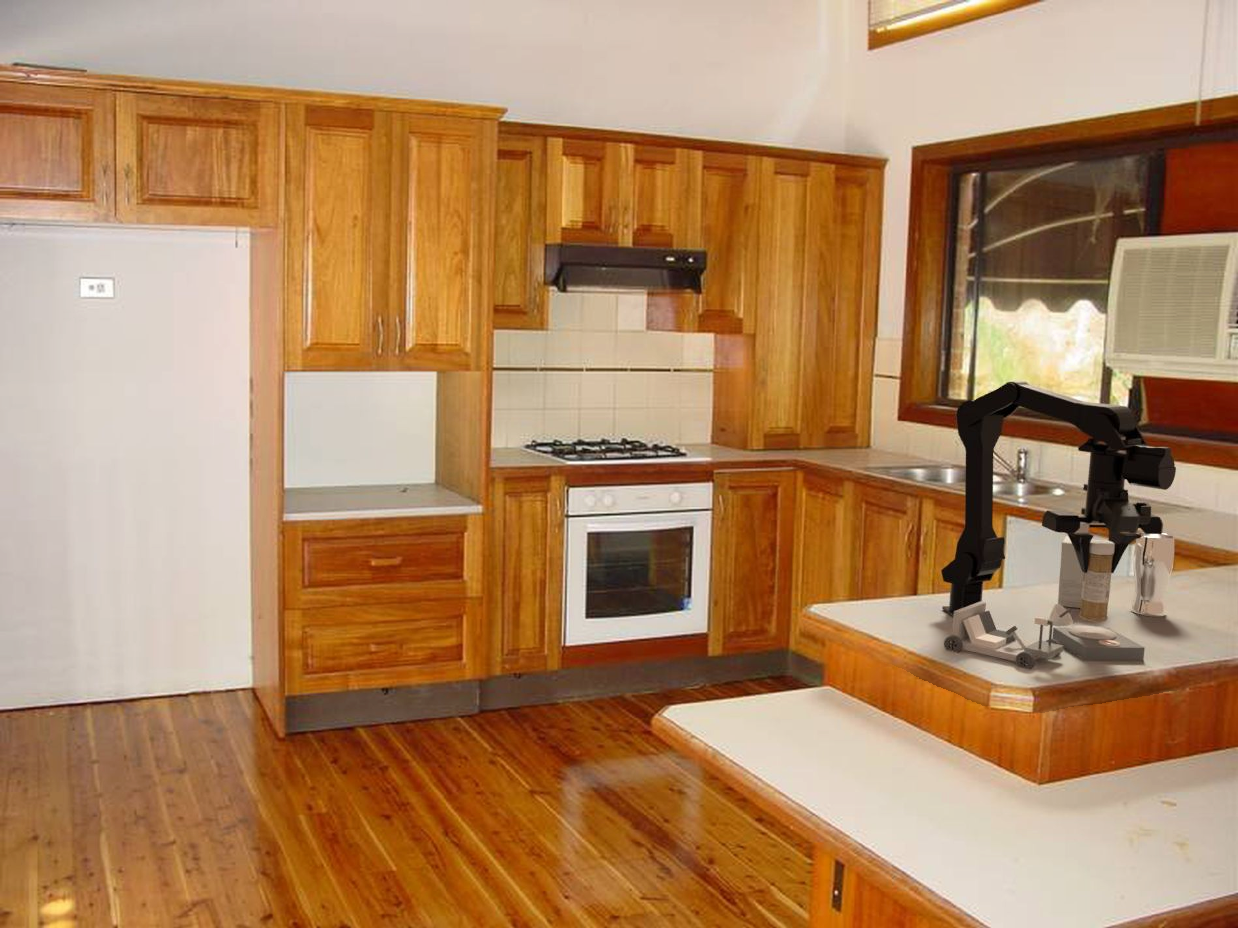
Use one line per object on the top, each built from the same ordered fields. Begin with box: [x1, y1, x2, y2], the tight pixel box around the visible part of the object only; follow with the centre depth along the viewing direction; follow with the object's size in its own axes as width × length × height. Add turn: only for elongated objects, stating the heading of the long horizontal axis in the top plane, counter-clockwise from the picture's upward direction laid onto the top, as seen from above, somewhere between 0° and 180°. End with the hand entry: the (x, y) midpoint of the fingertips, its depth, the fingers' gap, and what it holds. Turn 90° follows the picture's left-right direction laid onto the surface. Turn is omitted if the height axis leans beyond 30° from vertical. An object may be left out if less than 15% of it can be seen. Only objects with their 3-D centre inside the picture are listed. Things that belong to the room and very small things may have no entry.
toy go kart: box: [943, 601, 1073, 670], centre depth 206 cm, size 18×10×12 cm
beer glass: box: [1130, 531, 1175, 618], centre depth 237 cm, size 7×7×15 cm
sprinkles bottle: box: [1079, 538, 1115, 623], centre depth 211 cm, size 5×5×14 cm
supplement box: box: [1057, 535, 1084, 609], centre depth 242 cm, size 7×7×13 cm
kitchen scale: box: [1052, 625, 1146, 662], centre depth 210 cm, size 12×10×3 cm
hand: (1097, 572), depth 211 cm, fingers closed on sprinkles bottle, 4 cm apart
